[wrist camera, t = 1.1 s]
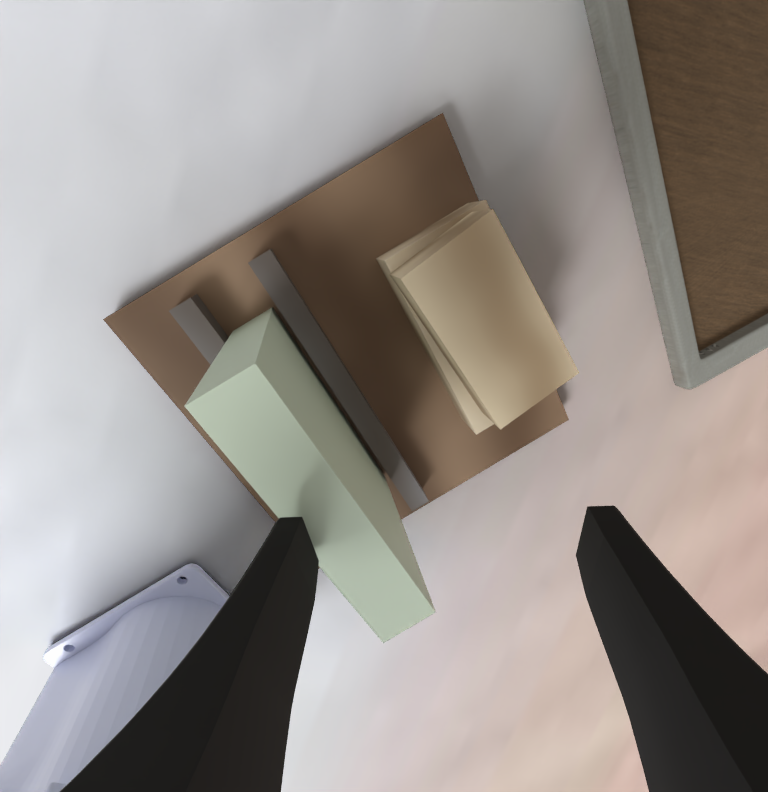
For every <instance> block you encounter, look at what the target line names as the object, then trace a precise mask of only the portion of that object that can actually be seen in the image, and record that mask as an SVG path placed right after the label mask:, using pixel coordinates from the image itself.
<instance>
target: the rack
mask: <svg viewBox="0 0 768 792" xmlns="http://www.w3.org/2000/svg"><path fill="white" fill-rule="evenodd" d="M476 201H479V200H478V198H477V195H476V193H475V190H474V188H473V185H472V183H471V181H470V178H469V176H468V173H467V171H466V168H465V166H464V163H463V161H462V159H461V156H460V154H459V151H458V149H457V146H456V144H455V142H454V139H453V137H452V134H451V132H450V129H449V127H448V125H447V122H446V120H445V117H444V115H443V113H442V114H440V115H438V116H437V117H435V118H433V119H432V120H430V121H429V122H427V123H425V124H424V125H422V126H420V127H419V128H417V129H415V130H414V131H412V132H410V133H409V134H407V135H406V136H404V137H402V138H401V139H399V140H397V141H396V142H394V143H392V144H391V145H389V146H387V147H386V148H384V149H383V150H381V151H379V152H378V153H376V154H374V155H373V156H371V157H369V158H368V159H366V160H364V161H363V162H361V163H359V164H358V165H356V166H355V167H353V168H351V169H350V170H348V171H346V172H345V173H343V174H341V175H340V176H338V177H336V178H335V179H333V180H332V181H330V182H328V183H327V184H325V185H323V186H322V187H320V188H318V189H317V190H315V191H313V192H312V193H310V194H309V195H307V196H305V197H304V198H302V199H300V200H299V201H297V202H295V203H294V204H292V205H290V206H289V207H287V208H286V209H284V210H282V211H281V212H279V213H277V214H276V215H274V216H272V217H271V218H269V219H267V220H266V221H264V222H262V223H261V224H259V225H258V226H256V227H254V228H253V229H251V230H249V231H248V232H246V233H244V234H243V235H241V236H239V237H238V238H236V239H235V240H233V241H231V242H230V243H228V244H226V245H225V246H223V247H221V248H220V249H218V250H216V251H215V252H213V253H212V254H210V255H208V256H207V257H205V258H203V259H202V260H200V261H198V262H197V263H195V264H193V265H192V266H190V267H189V268H187V269H185V270H184V271H182V272H180V273H179V274H177V275H175V276H174V277H172V278H170V279H169V280H167V281H165V282H164V283H162V284H161V285H159V286H157V287H156V288H154V289H152V290H151V291H149V292H147V293H146V294H144V295H142V296H141V297H139V298H138V299H136V300H134V301H133V302H131V303H129V304H128V305H126V306H124V307H123V308H121V309H119V310H118V311H116V312H115V313H113V314H111V315H110V316H108V317H106V318H105V319H103V320H104V321H105V322H106V323H107V324H108V326H109V327H110V328H111V329H112V330H113V332H114V333H115V334H116V335H117V336H118V337H119V339H120V340H121V341H122V342H123V343H124V345H125V346H126V347H127V348H128V349H129V350H130V352H131V353H132V354H133V355H134V356H135V357H136V359H137V360H138V361H139V362H140V363H141V365H142V366H143V367H144V368H145V369H146V370H147V372H148V373H149V374H150V375H151V376H152V377H153V379H154V380H155V381H156V382H157V383H158V385H159V386H160V387H161V388H162V389H163V390H164V392H165V393H166V394H167V395H168V396H169V398H170V399H171V400H172V401H173V402H174V403H175V405H176V406H177V407H178V408H179V409H180V410H181V412H182V413H183V414H184V415H185V416H186V418H187V419H188V420H189V421H190V422H191V423H192V425H193V426H194V427H195V428H196V429H197V430H198V432H199V433H200V434H201V435H202V436H203V438H204V439H205V440H206V441H207V442H208V443H209V445H210V446H211V447H212V448H213V449H214V451H215V452H216V453H217V454H218V455H219V456H220V458H221V459H222V460H223V461H224V462H225V463H226V465H227V466H228V467H229V468H230V469H231V471H232V472H233V473H234V474H235V475H236V476H237V478H238V479H239V480H240V481H241V482H242V484H243V485H244V486H245V487H246V488H247V489H248V491H249V492H250V493H251V494H252V495H253V496H254V498H255V499H256V500H257V501H258V502H259V504H260V505H261V506H262V507H263V508H264V509H265V511H266V512H267V513H268V514H269V515H270V516H271V518H272V519H273V520H274V521H275V522H277V520H278V519H279V518H278V517H277V516H276V515H275V513H274V512H273V511H272V510H271V509H270V508H269V506H268V505H267V504H266V503H265V502H264V500H263V499H262V498H261V497H260V496H259V494H258V493H257V492H256V491H255V490H254V488H253V487H252V486H251V485H250V484H249V483H248V481H247V480H246V479H245V478H244V477H243V475H242V474H241V473H240V472H239V471H238V469H237V468H236V467H235V466H234V465H233V464H232V462H231V461H230V460H229V459H228V458H227V456H226V455H225V454H224V453H223V452H222V450H221V449H220V448H219V447H218V446H217V444H216V443H215V442H214V441H213V440H212V439H211V437H210V436H209V435H208V434H207V433H206V431H205V430H204V429H203V428H202V427H201V425H200V424H199V423H198V422H197V421H196V419H195V418H194V417H193V416H192V415H191V414H190V412H189V411H188V410H187V409H186V408H185V404H186V403H187V401H188V400H189V398H190V396H191V395H192V393H193V392H194V390H195V389H196V387H197V386H198V384H199V383H200V381H201V379H202V378H203V376H204V375H205V373H206V372H207V370H208V369H209V367H210V366H211V364H212V362H213V361H214V359H215V358H216V356H217V355H218V353H219V352H220V350H221V349H222V347H223V345H224V344H225V342H226V341H227V339H228V338H229V336H230V335H231V333H232V332H233V331H234V330H235V329H237V328H239V327H240V326H242V325H244V324H245V323H247V322H249V321H250V320H252V319H254V318H255V317H257V316H259V315H260V314H262V313H263V312H265V311H267V310H268V309H270V308H272V307H273V308H274V310H275V311H276V313H277V314H278V316H279V317H280V319H281V320H282V322H283V323H284V325H285V326H286V328H287V330H288V331H289V333H290V334H291V336H292V337H293V339H294V340H295V342H296V343H297V345H298V346H299V348H300V349H301V351H302V352H303V354H304V355H305V357H306V358H307V360H308V361H309V363H310V364H311V366H312V367H313V369H314V370H315V372H316V373H317V375H318V376H319V378H320V379H321V381H322V382H323V384H324V385H325V387H326V388H327V390H328V391H329V393H330V394H331V396H332V397H333V399H334V400H335V402H336V403H337V405H338V406H339V408H340V409H341V411H342V412H343V414H344V415H345V417H346V418H347V420H348V421H349V423H350V424H351V426H352V427H353V429H354V430H355V432H356V433H357V435H358V436H359V438H360V439H361V441H362V442H363V444H364V445H365V447H366V448H367V450H368V451H369V453H370V454H371V456H372V457H373V459H374V460H375V462H376V463H377V465H378V466H379V468H380V469H381V471H382V472H383V474H384V476H385V479H386V481H387V484H388V486H389V489H390V492H391V494H392V497H393V500H394V502H395V505H396V508H397V510H398V513H399V516H400V518H401V519H403V518H404V517H406V516H408V515H410V514H411V513H413V512H415V511H416V510H418V509H420V508H421V507H423V506H425V505H426V504H428V503H430V502H431V501H433V500H435V499H436V498H438V497H440V496H441V495H443V494H445V493H446V492H448V491H450V490H451V489H453V488H455V487H457V486H458V485H460V484H462V483H463V482H465V481H467V480H468V479H470V478H472V477H473V476H475V475H477V474H478V473H480V472H482V471H483V470H485V469H487V468H488V467H490V466H492V465H493V464H495V463H497V462H499V461H500V460H502V459H504V458H505V457H507V456H509V455H510V454H512V453H514V452H515V451H517V450H519V449H520V448H522V447H524V446H525V445H527V444H529V443H530V442H532V441H534V440H535V439H537V438H539V437H540V436H542V435H544V434H546V433H547V432H549V431H551V430H552V429H554V428H556V427H557V426H559V425H561V424H562V423H564V422H566V421H567V420H569V419H568V417H567V414H566V412H565V409H564V407H563V404H562V402H561V400H560V397H559V395H558V392H557V390H555V391H553V392H552V393H551V394H549V395H548V396H546V397H545V398H544V399H542V400H541V401H539V402H538V403H537V404H535V405H534V406H533V407H531V408H530V409H528V410H527V411H526V412H524V413H523V414H521V415H520V416H519V417H517V418H516V419H515V420H513V421H512V422H510V423H509V424H508V425H506V426H505V427H503V428H502V429H501V430H500V429H499V428H498V427H497V426H496V425H495V424H493V425H492V426H490V427H488V428H487V429H485V430H483V431H482V432H480V433H478V434H477V435H476V434H475V433H474V432H473V431H472V430H471V428H470V427H469V426H468V425H467V424H466V423H465V422H464V421H463V420H462V419H461V417H460V415H459V413H458V411H457V409H456V407H455V406H454V404H453V402H452V400H451V398H450V396H449V394H448V393H447V391H446V389H445V387H444V385H443V383H442V381H441V379H440V378H439V376H438V374H437V372H436V370H435V368H434V366H433V364H432V363H431V361H430V359H429V357H428V355H427V353H426V351H425V349H424V348H423V346H422V344H421V342H420V340H419V338H418V336H417V334H416V333H415V331H414V329H413V327H412V325H411V323H410V321H409V319H408V318H407V316H406V314H405V312H404V310H403V308H402V306H401V304H400V303H399V301H398V299H397V297H396V295H395V293H394V291H393V289H392V288H391V286H390V284H389V282H388V280H387V278H386V276H385V274H384V273H383V271H382V269H381V267H380V265H379V263H378V261H377V260H376V258H378V257H379V256H381V255H383V254H384V253H386V252H388V251H389V250H391V249H392V248H394V247H396V246H397V245H399V244H401V243H402V242H404V241H406V240H407V239H409V238H411V237H412V236H414V235H416V234H417V233H419V232H421V231H422V230H424V229H426V228H427V227H429V226H431V225H432V224H434V223H435V222H437V221H439V220H440V219H442V218H444V217H445V216H447V215H449V214H450V213H452V212H454V211H455V210H457V209H459V208H460V207H462V206H464V205H465V204H467V203H471V202H476ZM319 568H320V567H319V566H318V569H319Z"/></svg>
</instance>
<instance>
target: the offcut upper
mask: <svg viewBox="0 0 768 792" xmlns="http://www.w3.org/2000/svg"><path fill="white" fill-rule="evenodd" d="M389 275H390V276H391V278H392V279H393V281H394V282H395V283H396V285H397V286H398V288H399V289H400V291H401V292H402V294H403V295H404V297H405V298H406V300H407V301H408V303H409V304H410V306H411V307H412V309H413V310H414V312H415V313H416V315H417V316H418V318H419V319H420V321H421V322H422V324H423V325H424V327H425V328H426V330H427V331H428V333H429V334H430V336H431V337H432V339H433V340H434V342H435V343H436V345H437V346H438V348H439V349H440V351H441V352H442V354H443V355H444V357H445V358H446V360H447V361H448V363H449V364H450V366H451V367H452V369H453V370H454V371H455V373H456V374H457V376H458V377H459V379H460V380H461V382H462V383H463V385H464V386H465V388H466V389H467V391H468V392H469V394H470V395H471V397H472V398H473V400H474V401H475V403H476V404H477V406H478V407H479V409H480V410H481V412H482V413H483V414H484V415H485V416H486V417H488V418H489V419H490V420H491V421H492V422H493V423H494V424H495V425H496V426H497V427H498V428H499V429H500V430H501V429H502V428H503V427H505V426H506V425H508V424H509V423H510V422H512V421H513V420H515V419H516V418H517V417H519V416H520V415H521V414H523V413H524V412H526V411H527V410H528V409H530V408H531V407H533V406H534V405H535V404H537V403H538V402H539V401H541V400H542V399H544V398H545V397H546V396H548V395H549V394H551V393H552V392H553V391H555V390H556V389H557V388H559V387H560V386H562V385H563V384H564V383H566V382H567V381H569V380H570V379H571V378H573V377H574V376H575V375H577V374H578V373H579V371H578V370H577V368H576V366H575V364H574V362H573V360H572V358H571V356H570V354H569V352H568V350H567V349H566V347H565V345H564V343H563V341H562V339H561V337H560V335H559V333H558V331H557V330H556V328H555V326H554V324H553V322H552V320H551V318H550V316H549V314H548V312H547V311H546V309H545V307H544V305H543V303H542V301H541V299H540V297H539V295H538V293H537V292H536V290H535V288H534V286H533V284H532V282H531V280H530V278H529V276H528V274H527V273H526V271H525V269H524V267H523V265H522V263H521V261H520V259H519V257H518V255H517V253H516V252H515V250H514V248H513V246H512V244H511V242H510V240H509V238H508V236H507V234H506V233H505V231H504V229H503V227H502V225H501V223H500V221H499V219H498V217H497V215H496V214H495V212H494V210H493V209H489V210H482V211H474V212H471V213H469V214H468V215H467V216H465V217H464V218H463V219H462V220H460V221H459V222H458V223H456V224H455V225H454V226H452V227H451V228H450V229H448V230H447V231H446V232H444V233H443V234H442V235H440V236H439V237H438V238H436V239H435V240H434V241H432V242H431V243H430V244H429V245H427V246H426V247H425V248H423V249H422V250H421V251H419V252H418V253H417V254H415V255H414V256H413V257H411V258H410V259H409V260H407V261H406V262H405V263H403V264H402V265H401V266H400V267H398V268H397V269H396V270H394V271H393V272H392V273H390V274H389Z"/></svg>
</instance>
